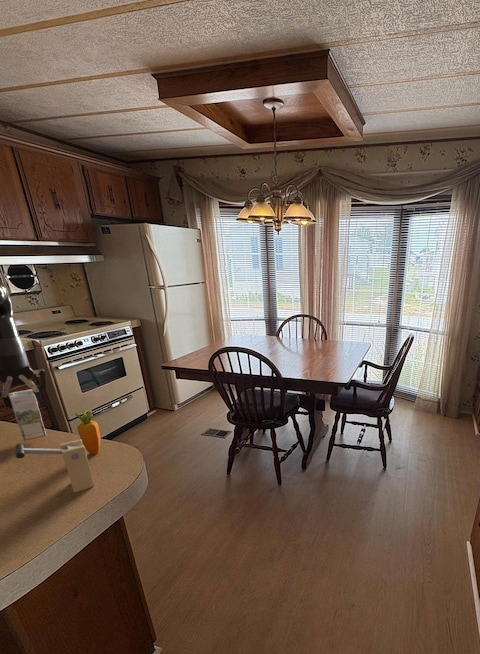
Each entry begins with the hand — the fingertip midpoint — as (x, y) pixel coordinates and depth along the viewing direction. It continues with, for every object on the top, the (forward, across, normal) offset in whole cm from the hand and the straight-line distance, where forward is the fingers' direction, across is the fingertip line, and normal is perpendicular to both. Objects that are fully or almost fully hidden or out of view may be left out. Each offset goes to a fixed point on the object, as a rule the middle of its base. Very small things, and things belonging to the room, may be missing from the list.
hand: (24, 405), depth 104 cm
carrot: (+12, -13, +22) cm, 28 cm away
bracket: (+12, -8, +38) cm, 40 cm away
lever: (+1, -3, +37) cm, 38 cm away
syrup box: (+11, 0, 0) cm, 11 cm away
